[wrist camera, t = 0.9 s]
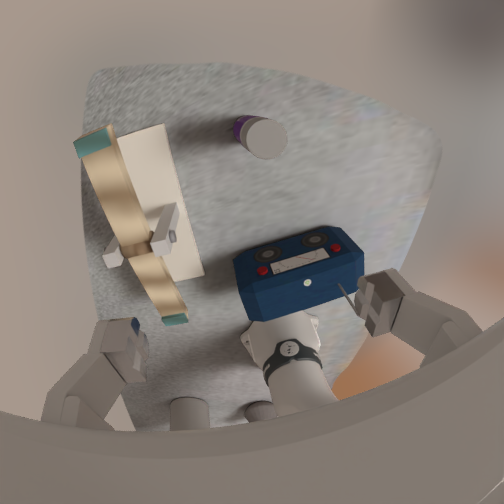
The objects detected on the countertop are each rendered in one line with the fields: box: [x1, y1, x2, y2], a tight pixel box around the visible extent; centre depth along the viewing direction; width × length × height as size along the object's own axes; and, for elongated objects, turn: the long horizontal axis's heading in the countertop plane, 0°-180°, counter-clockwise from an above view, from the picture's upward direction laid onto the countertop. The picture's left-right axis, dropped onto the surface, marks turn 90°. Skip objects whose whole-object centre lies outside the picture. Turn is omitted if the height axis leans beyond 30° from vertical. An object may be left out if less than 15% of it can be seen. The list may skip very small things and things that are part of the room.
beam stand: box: [102, 123, 205, 282], centre depth 38 cm, size 28×11×15 cm, turn 9°
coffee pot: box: [244, 401, 278, 423], centre depth 72 cm, size 21×12×15 cm, turn 178°
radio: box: [233, 227, 364, 322], centre depth 44 cm, size 21×9×20 cm, turn 104°
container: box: [233, 115, 287, 159], centre depth 33 cm, size 5×5×15 cm
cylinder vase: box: [170, 397, 210, 431], centre depth 65 cm, size 12×12×25 cm
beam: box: [73, 123, 188, 326], centre depth 34 cm, size 32×4×3 cm, turn 9°
